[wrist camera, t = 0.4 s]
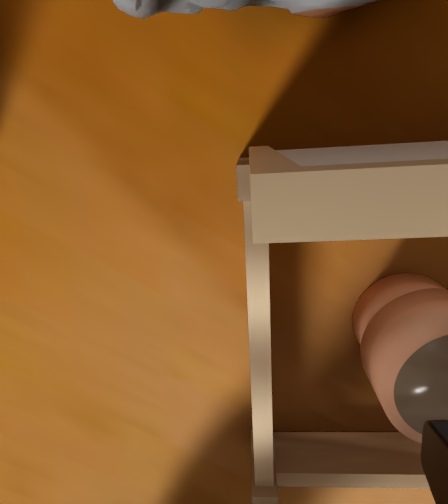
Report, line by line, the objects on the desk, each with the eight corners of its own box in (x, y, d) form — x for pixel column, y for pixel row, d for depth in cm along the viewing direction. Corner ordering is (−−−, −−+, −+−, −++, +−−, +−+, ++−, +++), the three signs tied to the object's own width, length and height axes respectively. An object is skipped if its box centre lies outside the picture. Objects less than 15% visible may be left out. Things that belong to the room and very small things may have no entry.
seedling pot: (451, 364, 21) (567, 495, 14) (342, 365, 22) (394, 492, 14) (466, 263, 19) (611, 349, 12) (347, 267, 20) (410, 352, 12)
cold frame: (533, 448, 23) (601, 523, 18) (251, 446, 24) (252, 516, 20) (612, 137, 17) (738, 138, 13) (239, 157, 18) (236, 165, 14)
